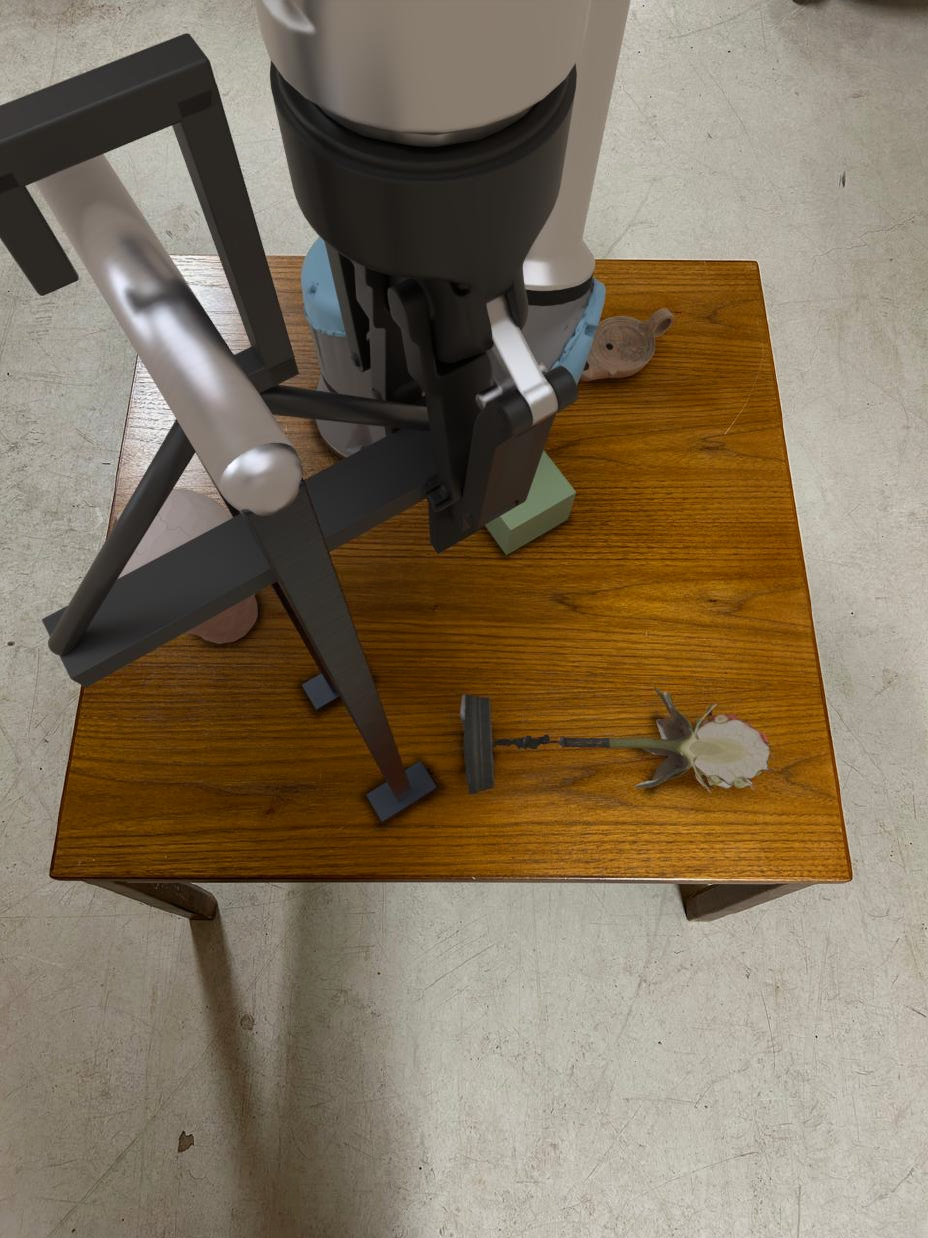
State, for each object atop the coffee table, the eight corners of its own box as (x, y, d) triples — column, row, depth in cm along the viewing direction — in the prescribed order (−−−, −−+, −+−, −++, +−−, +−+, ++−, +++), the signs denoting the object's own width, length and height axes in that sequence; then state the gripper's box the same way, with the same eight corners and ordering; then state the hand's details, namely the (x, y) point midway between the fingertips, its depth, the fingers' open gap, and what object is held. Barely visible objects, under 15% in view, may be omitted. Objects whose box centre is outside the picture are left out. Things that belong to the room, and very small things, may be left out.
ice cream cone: (158, 585, 80) (70, 489, 62) (260, 550, 82) (204, 446, 63) (186, 678, 77) (101, 608, 58) (291, 640, 79) (242, 560, 60)
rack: (303, 687, 77) (-98, 110, 20) (356, 656, 78) (114, 30, 22) (382, 823, 73) (153, 568, 16) (437, 788, 74) (400, 437, 17)
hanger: (82, 690, 32) (-471, 378, 13) (53, 632, 33) (-508, 255, 14) (492, 462, 36) (544, -40, 17) (457, 415, 37) (468, -114, 18)
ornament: (742, 695, 77) (777, 671, 69) (756, 796, 74) (794, 784, 66) (460, 697, 77) (462, 673, 69) (461, 799, 74) (463, 787, 65)
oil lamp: (586, 404, 89) (593, 377, 84) (553, 356, 91) (559, 327, 86) (682, 362, 91) (694, 332, 86) (648, 315, 93) (658, 284, 88)
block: (475, 512, 84) (477, 484, 78) (536, 477, 85) (542, 448, 80) (506, 555, 82) (510, 530, 77) (567, 519, 84) (576, 492, 78)
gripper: (133, -90, 20) (299, 429, 42) (475, 348, 16) (459, 671, 38) (385, -179, 21) (417, 368, 44) (762, 198, 17) (585, 593, 39)
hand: (437, 508), depth 41 cm, fingers closed on hanger, 3 cm apart
